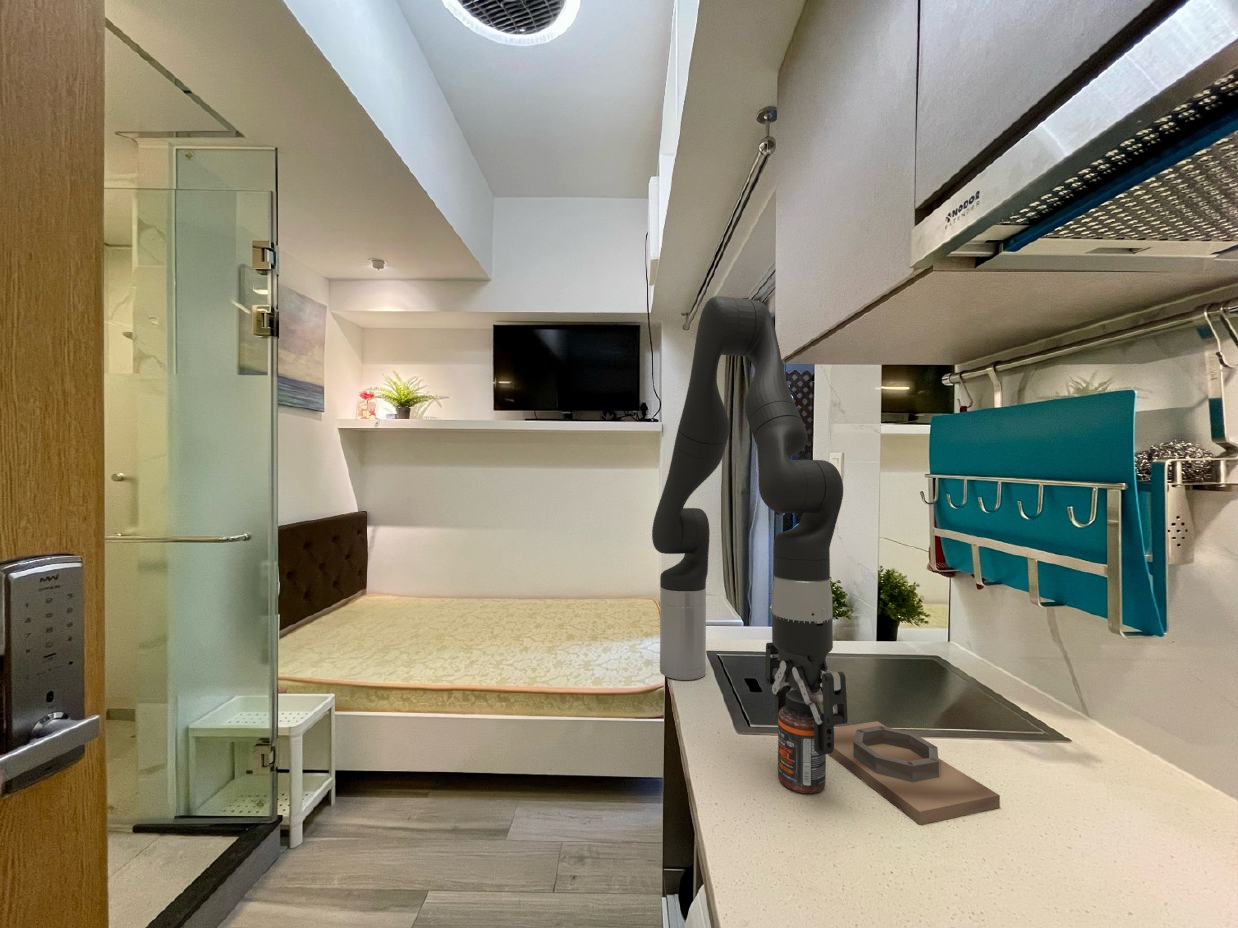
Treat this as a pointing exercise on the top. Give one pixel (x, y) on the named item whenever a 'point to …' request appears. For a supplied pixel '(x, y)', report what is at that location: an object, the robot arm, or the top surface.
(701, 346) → the robot arm
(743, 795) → the top surface
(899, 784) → the socket board
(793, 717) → the supplement bottle
